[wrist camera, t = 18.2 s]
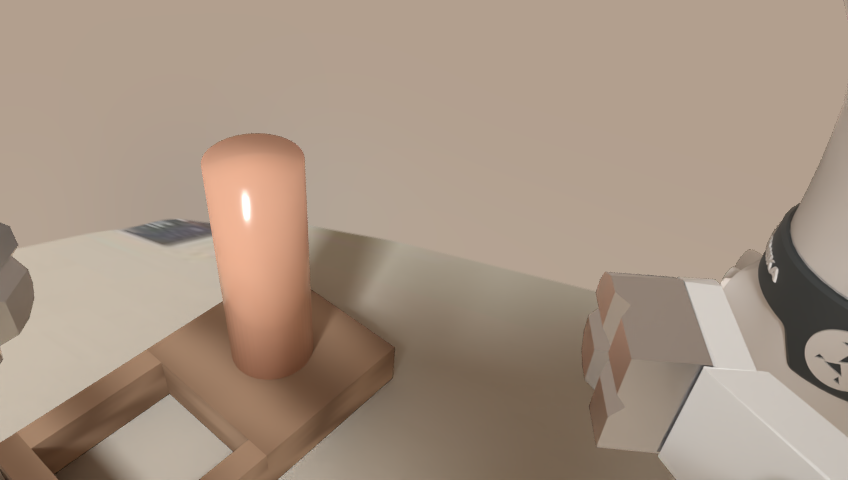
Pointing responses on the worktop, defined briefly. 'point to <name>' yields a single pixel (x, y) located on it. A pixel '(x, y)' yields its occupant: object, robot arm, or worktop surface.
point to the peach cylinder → (261, 250)
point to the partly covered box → (217, 398)
